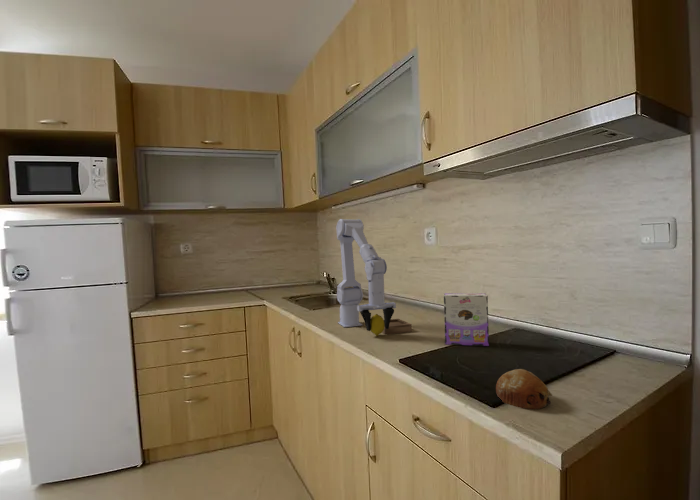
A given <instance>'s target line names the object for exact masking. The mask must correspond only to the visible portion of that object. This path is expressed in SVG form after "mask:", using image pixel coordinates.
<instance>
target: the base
mask: <svg viewBox="0 0 700 500" xmlns="http://www.w3.org/2000/svg"><path fill="white" fill-rule="evenodd" d="M412 328H413V327H412V323H410V322H407V321H405V320H402V319H400V318H391V320H390V324H389V329H386V328H385V327H384V330H383V332H382V333H381V334H384V335H392V334H401V333H411V332H412V331H413V330H412Z"/></svg>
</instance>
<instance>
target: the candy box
mask: <svg viewBox="0 0 700 500" xmlns="http://www.w3.org/2000/svg"><path fill="white" fill-rule="evenodd" d="M488 299H489V297H488V295H487V294H486V293H482V292H481V293H478V292H477V293H476V292H475V293H473V292H472V293H471V292H470V293H467V292H466V293H465V292H463V293H461V292H460V293H459V292H457V293H453V292H451V293H450V292H449V293H447V292H445V293H443V313H444V315H443V317H444V318H443V319H444V320H443V321H444V345H447V346H449V345H450V346H451V345H453V346H455V345H456V346H475V347H476V346H478V347H490V338H489V337H490V334H489V333H490V332H489V331H490V330H489V329H490V328H489V307H488V306H489V301H488Z"/></svg>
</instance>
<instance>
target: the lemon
mask: <svg viewBox="0 0 700 500" xmlns="http://www.w3.org/2000/svg"><path fill="white" fill-rule="evenodd" d="M370 326H371V330H370V332H371V333H373V335H375V336H376V337H377V336H379V335H381V334H383V333H382V332H383V330H384V317H382V316H381V315H379V314H378V313H375V314H374V315H371V319H370Z"/></svg>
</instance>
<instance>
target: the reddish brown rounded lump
mask: <svg viewBox="0 0 700 500" xmlns="http://www.w3.org/2000/svg"><path fill="white" fill-rule="evenodd" d="M495 393H496V395H497V397H499V398H500V399H501V400H502V401H501V400H500V399H499V398H498V399H499V400H500V401H501V402H502V403H504V404H506V405H510V406H513V407H517V408H519V409H526V410H540V409H543V408H546V406H548V405H551V404H552V402H551V401H550V398H549V397H553V394H552V393H551V391H550V390H549V388H548V386H547V385H546V384H545V383H544V381H542V379H540V378H539V377H538V376H537V375H535V374H534V373H533V372H531V371H530V370H529V371H528V370H527V369H524V368H516V369H513V370H509V371H507V372H505V373H503V374H501V376H500V377H498V379H497V382H496V384H495Z"/></svg>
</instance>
